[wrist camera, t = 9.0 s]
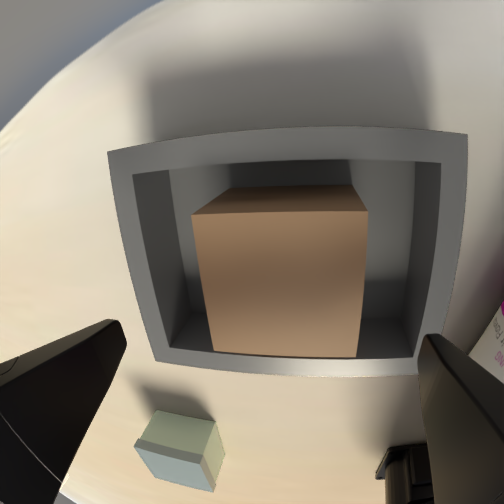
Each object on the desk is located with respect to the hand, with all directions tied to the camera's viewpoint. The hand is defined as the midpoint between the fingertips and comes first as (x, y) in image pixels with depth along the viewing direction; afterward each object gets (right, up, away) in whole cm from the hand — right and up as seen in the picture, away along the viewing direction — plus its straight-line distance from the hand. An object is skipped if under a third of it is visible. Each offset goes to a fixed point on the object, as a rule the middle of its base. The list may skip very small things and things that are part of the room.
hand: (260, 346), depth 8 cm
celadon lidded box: (-6, -15, +18) cm, 24 cm away
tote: (+2, +3, +8) cm, 9 cm away
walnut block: (+2, +3, +8) cm, 8 cm away
